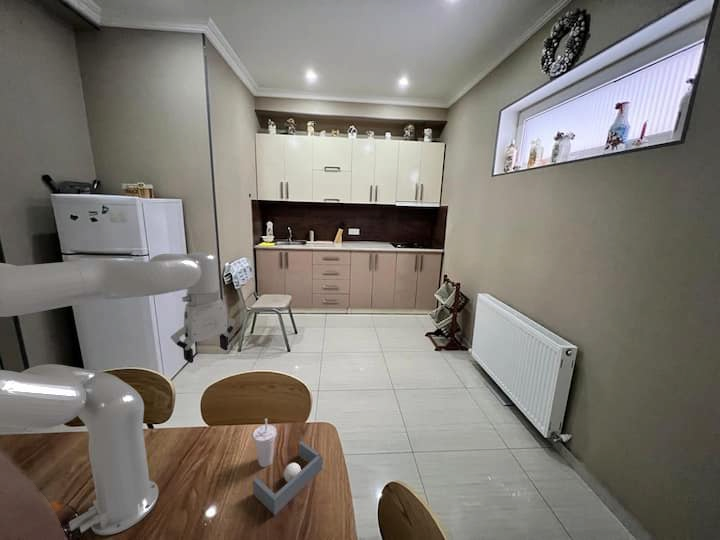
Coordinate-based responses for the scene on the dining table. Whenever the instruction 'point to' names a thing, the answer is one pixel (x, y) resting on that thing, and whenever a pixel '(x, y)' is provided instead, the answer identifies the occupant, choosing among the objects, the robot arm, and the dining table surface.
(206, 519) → the dining table surface
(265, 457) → the smoothie
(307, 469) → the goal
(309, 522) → the dining table surface
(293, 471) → the ball
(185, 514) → the dining table surface
